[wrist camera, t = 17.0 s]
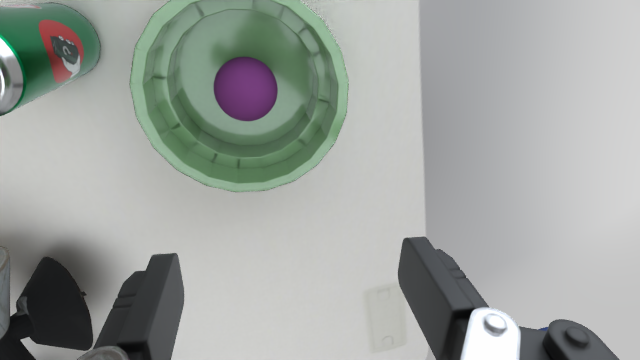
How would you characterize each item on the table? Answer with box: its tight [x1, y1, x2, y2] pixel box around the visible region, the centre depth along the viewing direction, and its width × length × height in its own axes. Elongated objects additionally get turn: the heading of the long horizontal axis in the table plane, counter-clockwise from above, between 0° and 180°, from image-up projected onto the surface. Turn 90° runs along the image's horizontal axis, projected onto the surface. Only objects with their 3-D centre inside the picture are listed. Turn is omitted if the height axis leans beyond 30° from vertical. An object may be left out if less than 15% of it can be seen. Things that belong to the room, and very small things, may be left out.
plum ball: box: [214, 57, 278, 121], centre depth 28 cm, size 5×5×5 cm
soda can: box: [0, 3, 100, 116], centre depth 22 cm, size 5×5×12 cm
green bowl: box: [130, 0, 349, 192], centre depth 28 cm, size 15×15×6 cm
